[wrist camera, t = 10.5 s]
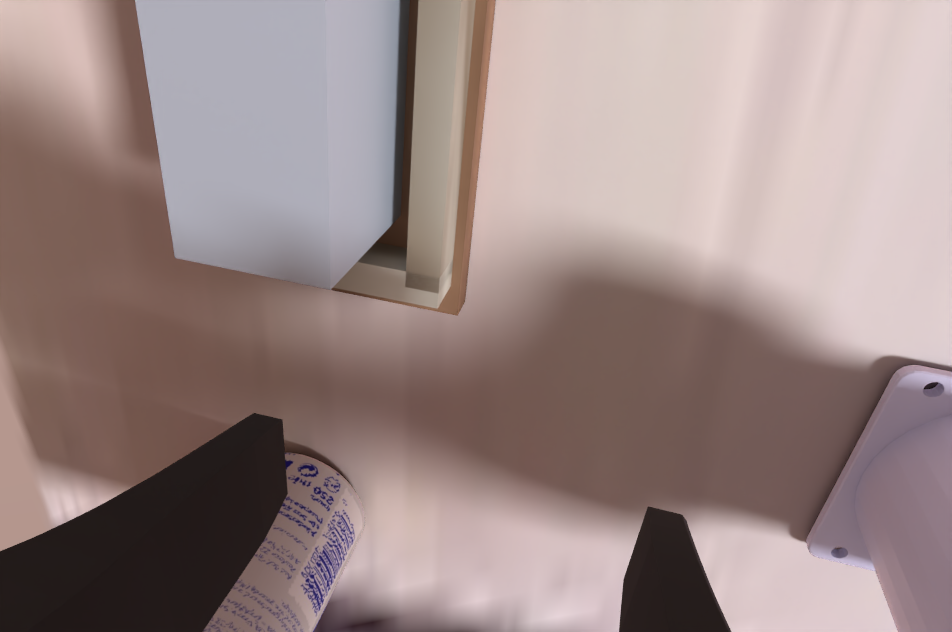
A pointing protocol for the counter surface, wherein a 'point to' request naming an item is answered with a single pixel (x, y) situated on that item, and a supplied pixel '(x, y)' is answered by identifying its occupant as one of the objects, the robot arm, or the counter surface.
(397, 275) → the framed wooden panel
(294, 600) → the beverage can
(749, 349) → the counter surface
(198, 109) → the grey box
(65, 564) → the robot arm
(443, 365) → the counter surface
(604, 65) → the counter surface
